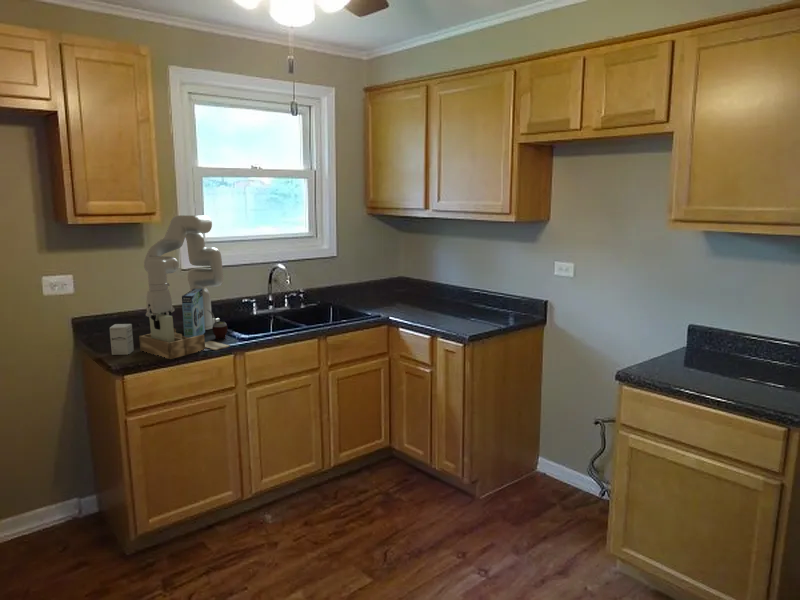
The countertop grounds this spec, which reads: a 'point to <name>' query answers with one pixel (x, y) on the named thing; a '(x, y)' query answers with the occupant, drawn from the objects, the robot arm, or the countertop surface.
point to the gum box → (193, 313)
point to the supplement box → (121, 339)
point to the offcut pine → (178, 335)
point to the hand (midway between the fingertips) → (161, 327)
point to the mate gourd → (219, 329)
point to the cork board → (215, 345)
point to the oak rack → (172, 345)
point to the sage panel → (163, 328)
